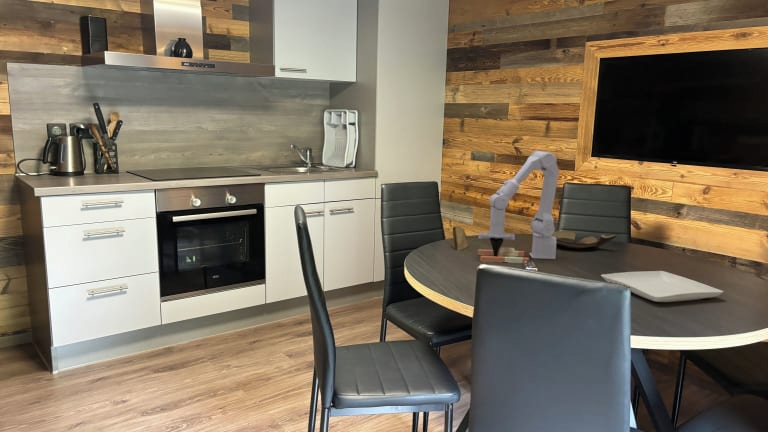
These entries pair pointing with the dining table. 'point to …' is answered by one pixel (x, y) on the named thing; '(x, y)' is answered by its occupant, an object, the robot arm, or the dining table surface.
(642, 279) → the square plate
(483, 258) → the pink-beige flat slab
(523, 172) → the robot arm
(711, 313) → the dining table surface
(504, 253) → the maple block
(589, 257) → the dining table surface
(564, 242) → the dark brown bowl
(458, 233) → the rock
